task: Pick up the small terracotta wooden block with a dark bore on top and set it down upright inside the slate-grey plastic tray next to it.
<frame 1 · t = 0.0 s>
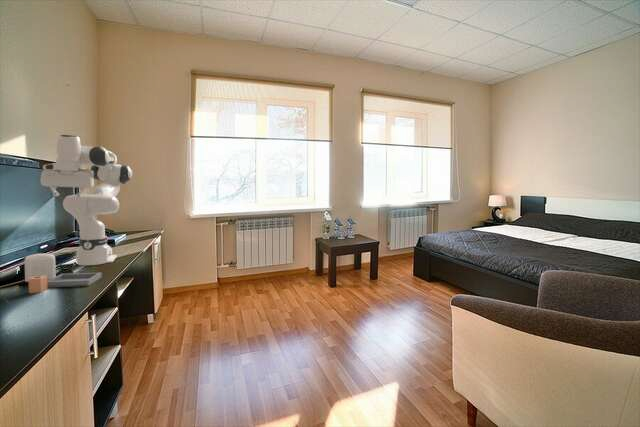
hand: (67, 196, 137), 39 cm above the cabinet, tool pointing down, fingers open, 8 cm apart
terracotta block: (38, 291, 118), on the cabinet
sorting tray: (74, 282, 130), on the cabinet
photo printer: (40, 280, 131), on the cabinet
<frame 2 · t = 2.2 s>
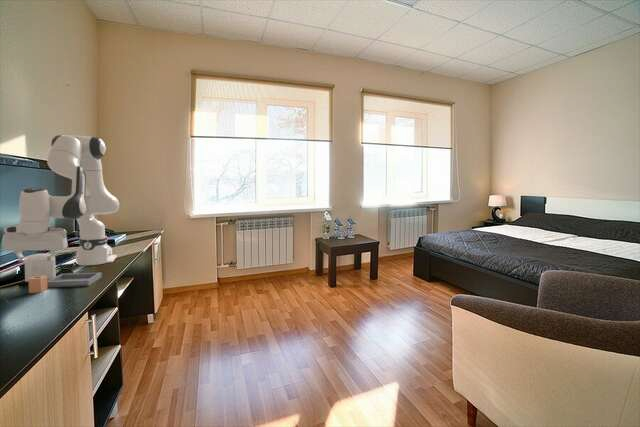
hand: (36, 260, 116), 13 cm above the cabinet, tool pointing down, fingers open, 8 cm apart
nothing on the cabinet moved.
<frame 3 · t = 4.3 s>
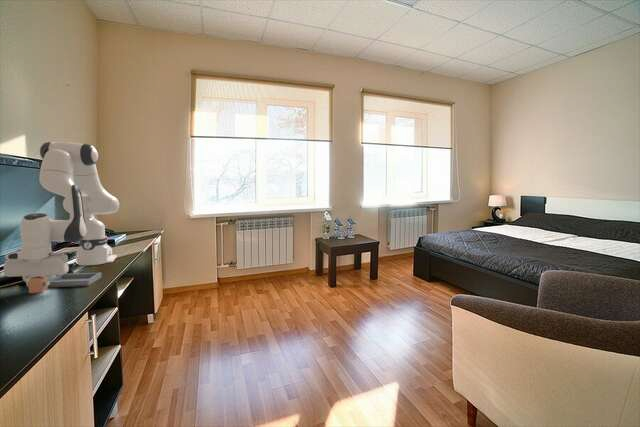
hand: (38, 285, 118), 2 cm above the cabinet, tool pointing down, fingers closed on terracotta block, 4 cm apart
terracotta block: (38, 291, 118), on the cabinet, touching gripper
everything else where it was.
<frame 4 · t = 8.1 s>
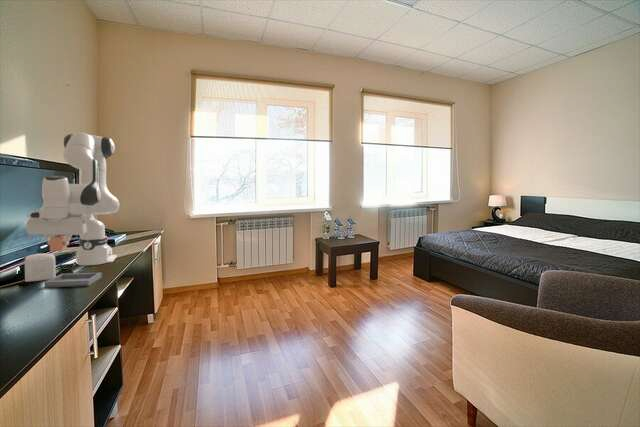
hand: (58, 244, 123), 18 cm above the cabinet, tool pointing down, fingers closed on terracotta block, 4 cm apart
terracotta block: (58, 250, 124), point 16 cm above the cabinet, touching gripper
everything else where it was.
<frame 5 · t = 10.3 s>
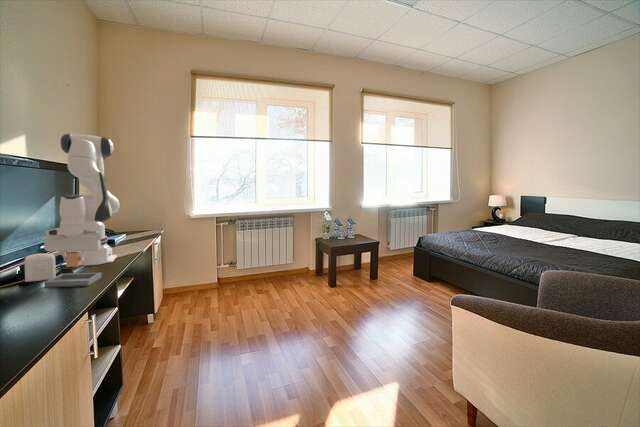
hand: (74, 260, 129), 10 cm above the cabinet, tool pointing down, fingers closed on terracotta block, 4 cm apart
terracotta block: (74, 265, 129), point 8 cm above the cabinet, touching gripper
everything else where it was.
when the fingers open (4 cm above the cabinet, at t = 12.2 s): terracotta block drops 1 cm, resting on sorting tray.
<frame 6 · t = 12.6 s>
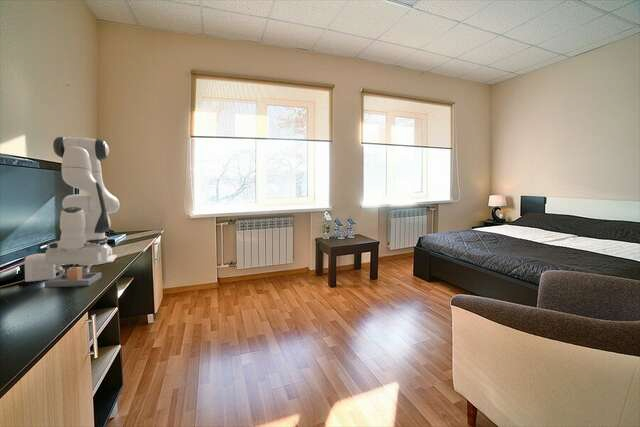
hand: (74, 273, 129), 4 cm above the cabinet, tool pointing down, fingers open, 8 cm apart
terracotta block: (74, 281, 130), point 1 cm above the cabinet, touching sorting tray
everything else where it was.
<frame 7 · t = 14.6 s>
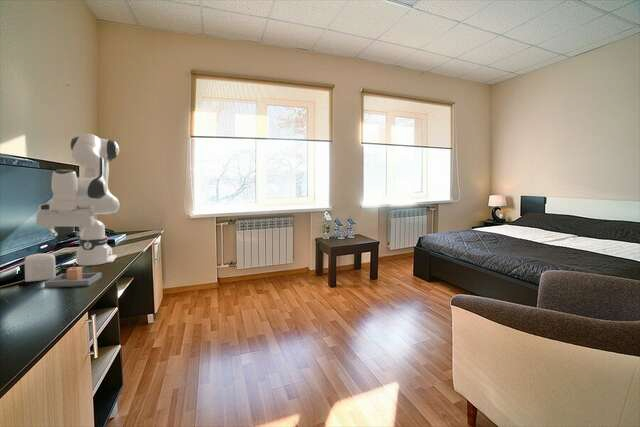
hand: (67, 236, 128), 21 cm above the cabinet, tool pointing down, fingers open, 8 cm apart
nothing on the cabinet moved.
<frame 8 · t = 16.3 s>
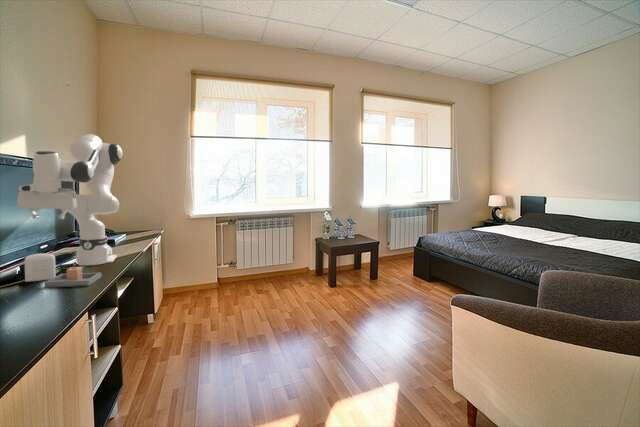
hand: (48, 218, 126), 29 cm above the cabinet, tool pointing down, fingers open, 8 cm apart
nothing on the cabinet moved.
at the end: terracotta block inside the target area on the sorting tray (0.0 cm from its centre), point 0.6 cm above the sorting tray's base; terracotta block tilted 0°; the gripper is holding nothing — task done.
